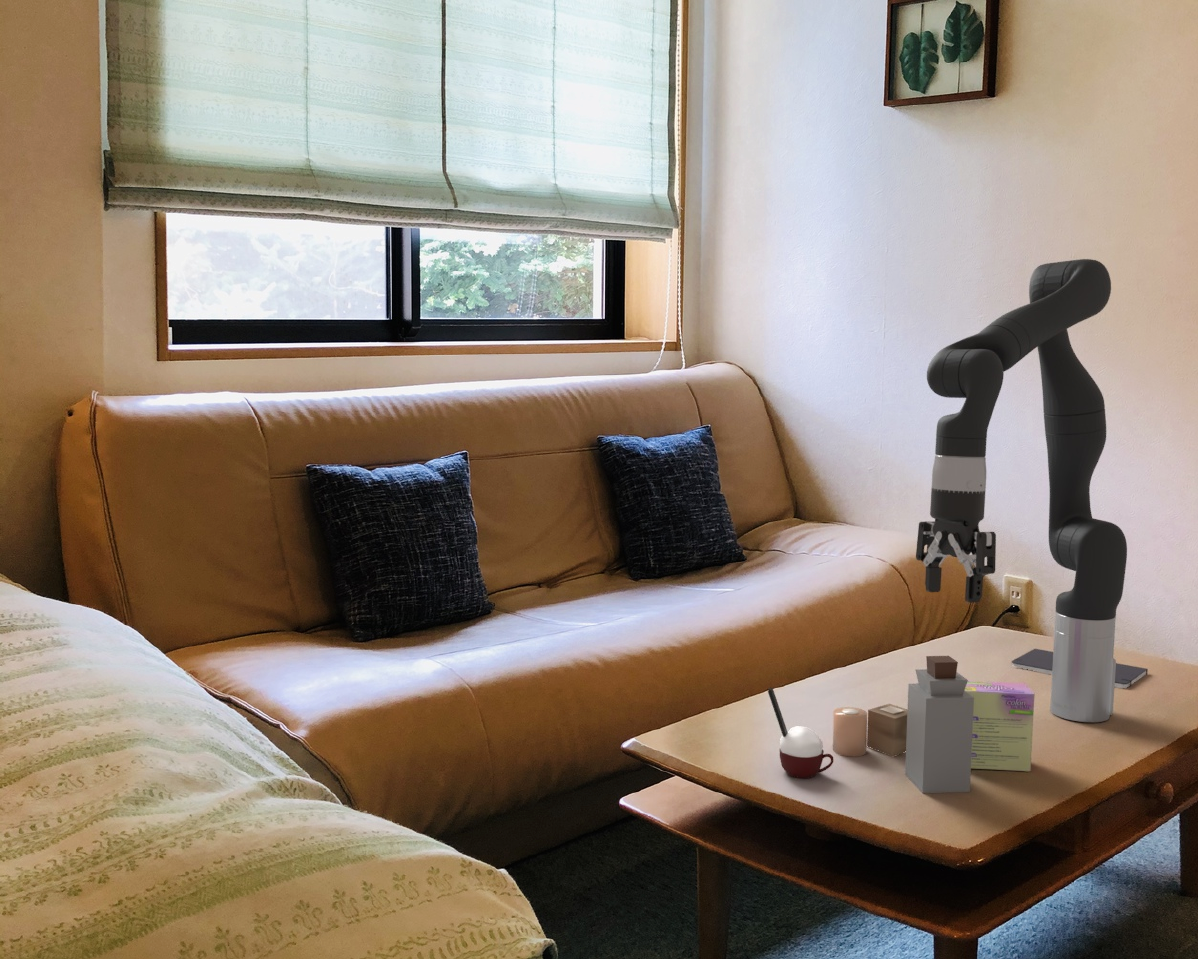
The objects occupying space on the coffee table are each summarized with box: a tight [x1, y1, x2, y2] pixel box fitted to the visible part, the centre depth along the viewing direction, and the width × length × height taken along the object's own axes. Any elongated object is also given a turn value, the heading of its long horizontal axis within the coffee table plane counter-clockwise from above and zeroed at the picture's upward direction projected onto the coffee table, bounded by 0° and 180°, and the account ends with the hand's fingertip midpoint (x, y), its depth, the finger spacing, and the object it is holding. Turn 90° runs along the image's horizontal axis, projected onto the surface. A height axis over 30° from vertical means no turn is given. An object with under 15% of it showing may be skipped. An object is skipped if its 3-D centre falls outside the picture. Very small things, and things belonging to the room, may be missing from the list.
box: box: [965, 680, 1035, 773], centre depth 164 cm, size 10×6×12 cm, turn 84°
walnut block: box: [867, 703, 908, 757], centre depth 171 cm, size 5×5×6 cm
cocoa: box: [767, 686, 834, 779], centre depth 160 cm, size 10×6×12 cm, turn 48°
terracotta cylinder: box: [832, 706, 868, 758], centre depth 170 cm, size 5×5×6 cm
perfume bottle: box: [904, 655, 974, 794], centre depth 156 cm, size 7×7×18 cm
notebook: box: [1011, 648, 1149, 689], centre depth 213 cm, size 13×2×21 cm
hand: (952, 596), depth 163 cm, fingers open, 8 cm apart
